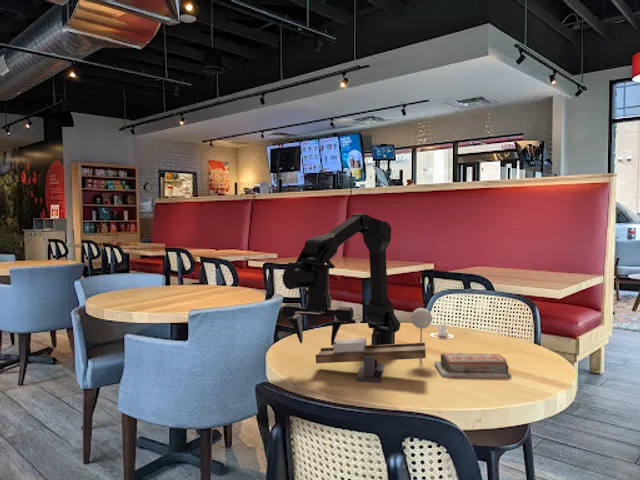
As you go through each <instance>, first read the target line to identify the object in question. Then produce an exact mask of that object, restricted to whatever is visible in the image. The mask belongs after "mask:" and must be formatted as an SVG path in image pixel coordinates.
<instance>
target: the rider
mask: <svg viewBox="0 0 640 480" xmlns="http://www.w3.org/2000/svg"><path fill="white" fill-rule="evenodd" d="M367 345H368V344H367V338H366V337H357V338H340V339H336V338H335V341H334V344H333V346H332V347H333V349H334V354H338V353H357V352H366V350H367Z"/></svg>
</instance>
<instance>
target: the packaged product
mask: <svg viewBox="0 0 640 480" xmlns="http://www.w3.org/2000/svg"><path fill="white" fill-rule="evenodd" d="M434 366H435V368H436V370H437V371H438V373H439V375H440V376H441V377H442V378H443V377H445V378H446V377H447V378H451V377H454V378H455V377H458V378H459V377H460V378H503V379H504V378H508V379H511V378H512V374H511V373H510V372H509V370H510V368H509V365H508V361H507V360H506V358H505V357H503V355H501V354H498V353H467V352H464V353H463V352H460V353H459V352H444V353H441V354H440V360H434Z"/></svg>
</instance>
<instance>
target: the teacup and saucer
mask: <svg viewBox="0 0 640 480" xmlns="http://www.w3.org/2000/svg"><path fill="white" fill-rule="evenodd" d="M429 335H430V337H432V338H435V339H440V338H441V339H443V340H444V339H445V340H446V339H447V340H448V339H453V338H454V337H455V336H454V334H450V333H449V330H448V325H447V324H443V323H441V324H437V332H431V333H430V334H429ZM435 335H438V336H435ZM447 335H448V336H449V337H447Z"/></svg>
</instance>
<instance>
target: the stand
mask: <svg viewBox="0 0 640 480" xmlns="http://www.w3.org/2000/svg"><path fill="white" fill-rule="evenodd" d="M384 369H385V363H383V362H382V363H381V362H379V360H378V361H374V356H368V355H365V356H364V361H361V365H360V367H359V370H358V372H357V375H356V382H367V383H381V381H382V378H383V374H384Z"/></svg>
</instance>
